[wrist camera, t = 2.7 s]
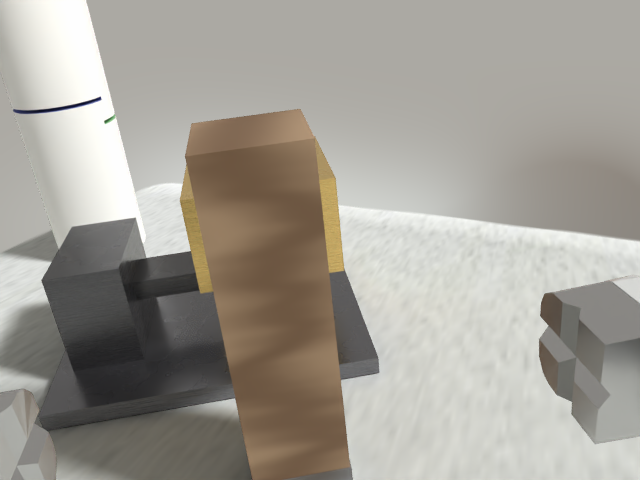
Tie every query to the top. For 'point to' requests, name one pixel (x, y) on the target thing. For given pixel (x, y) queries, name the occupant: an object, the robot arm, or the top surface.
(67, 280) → the cup bracket
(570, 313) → the robot arm
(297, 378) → the rail post
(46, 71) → the cylindrical container
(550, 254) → the top surface
